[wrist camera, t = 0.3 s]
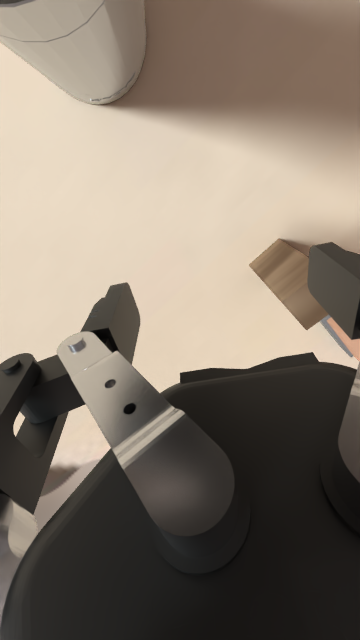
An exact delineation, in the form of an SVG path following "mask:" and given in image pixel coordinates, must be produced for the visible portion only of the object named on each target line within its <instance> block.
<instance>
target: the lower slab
mask: <svg viewBox="0 0 360 640" xmlns="http://www.w3.org/2000/svg"><path fill="white" fill-rule="evenodd" d="M329 318H331V316H330V315H327V316H326V317H324V318H323V319H322V320H320V323H321V324H322V325H323V326H324V327H325V329H326V330H327V331H328V332H329V334H330V335H331V336H332V337H333V338H334V340H335V341H336V342H337V343H338V345H339V346H340V347H341V348H342V349H343V350H344V351H345V352H346V353H347V354H348V355H349V356H350V357H352V356H353V355H352V354H351V352H350V351H349V350H348V348H347V347H346V346H345V344H344V343H343V342H342V340H341V339H340V338H339V337H338V335H337V334H336V333H335V331H334V330H333V329H332V327H331V326H330V325H329V323H328V322H327V321H326V320H328V319H329Z"/></svg>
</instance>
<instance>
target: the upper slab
mask: <svg viewBox="0 0 360 640" xmlns="http://www.w3.org/2000/svg"><path fill="white" fill-rule="evenodd" d="M326 321H327V322H328V323H329V325H330V326H331V327H332V329H333V330H334V331H335V333H336V334H337V335H338V337H339V338H340V339H341V340H342V342H343V343H344V344H345V346H346V347H347V348H348V350H349V351H350V352H351V354H352V355H353V356H354V357H355V358H357V359H358V360H359V361H360V339H355V340H351V339H350V338H349V337H348V336H347V335H346V333H345V332H344V331H343V330H342V329H341V328H340V327H339V325H338V324H337V323H336V322H335V321H334V320H333V319H332V317H331V318H329V319H328V320H326Z"/></svg>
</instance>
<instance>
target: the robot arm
mask: <svg viewBox="0 0 360 640" xmlns="http://www.w3.org/2000/svg"><path fill="white" fill-rule="evenodd" d="M0 42H1V43H2V44H3V45H5V46H6V47H7V48H9V49H10V50H11V51H12V52H14V53H15V54H16V55H18V56H19V57H20V58H22V59H23V60H24V61H25V62H27V63H28V64H29V65H31V66H32V67H33V68H35V69H36V70H37V71H39V72H40V73H41V74H42V75H44V76H45V77H46V78H48V79H49V80H50V81H51V82H53V83H54V84H55V85H57V86H58V87H59V88H61V89H62V90H63V91H65V92H66V93H68V94H69V95H71V96H72V97H74V98H75V99H78V100H80V101H83V102H85V103H90V104H106V103H110V102H113V101H115V100H117V99H119V98H120V97H122V96H123V95H124V94H125V93H127V92H128V91H129V89H130V88H131V87H132V86H133V84H134V83H135V82H136V79H137V77H138V75H139V73H140V71H141V68H142V64H143V61H144V57H145V49H146V24H145V8H144V0H0ZM307 284H308V289H309V291H310V293H311V295H312V296H313V297H314V298H315V299H316V300H317V302H318V303H319V304H320V305H321V306H322V307H323V308H324V310H325V311H326V312H327V313H328V314H329V315H330V316H331V317H332V319H333V320H334V321H335V322H336V323H337V324H338V325H339V327H340V328H341V329H342V330H343V331H344V332H345V333H346V335H347V336H348V337H349V338H350V339H351V340H355V339H360V254H356V253H353V252H349V251H345V250H344V249H342V248H341V247H339V246H338V245H336V244H334V243H333V242H330V243H325V244H319V245H314V246H312V247H311V248H310V252H309V264H308V278H307ZM139 327H140V315H139V311H138V308H137V306H136V303H135V300H134V297H133V294H132V292H131V289H130V286H129V284H128V283H122V284H117V285H112V286H110V288H109V290H108V292H107V294H106V296H105V298H101V299H100V300H99V301H98V302H97V303H96V304H95V305H94V307H93V309H92V311H91V313H90V315H89V316H88V318H87V320H86V322H85V324H84V326H83V328H82V330H81V332H80V333H77V334H74V335H72V336H70V337H68V338H67V339H65V340H64V341H63V342H62V343H61V344H60V345H59V346H58V348H57V355H55V356H52V357H50V358H47V359H44V360H42V361H39V362H37V361H36V360H35V358H34V357H33V355H32V354H29V353H23V354H19V355H16V356H13V357H11V358H9V359H7V360H6V361H4V362H3V363H1V364H0V640H360V362H359V366H358V369H357V370H356V369H353V368H351V367H347V366H343V365H339V364H334V363H327V362H319V361H318V360H317V358H316V357H315V355H314V353H313V352H311V353H305V354H299V355H292V356H286V357H279V358H276V359H274V360H271V361H268V362H265V363H263V364H260V365H257V366H254V367H252V368H249V369H224V368H208V369H202V370H196V371H189V372H183V373H180V383H178V384H175V385H173V386H171V387H169V388H168V389H166V390H164V391H163V392H161V393H159V392H158V391H157V390H156V389H155V388H154V387H153V386H152V385H151V384H150V383H149V382H148V381H147V380H146V379H145V378H144V377H143V376H142V375H141V374H140V373H139V372H138V371H137V370H136V369H135V368H134V367H133V366H132V361H133V356H134V351H135V346H136V342H137V337H138V332H139ZM85 404H86V405H87V407H88V409H89V411H90V412H91V414H92V416H93V417H94V419H95V421H96V423H97V424H98V426H99V428H100V429H101V431H102V433H103V435H104V436H105V438H106V440H107V441H108V443H109V445H110V447H111V449H110V450H109V451H108V452H107V453H106V454H105V456H104V457H103V458H102V459H101V460H100V462H99V463H98V464H97V465H96V466H95V467H94V469H93V470H92V471H91V472H90V473H89V474H88V476H87V477H86V478H85V479H84V480H83V481H82V483H81V484H80V485H79V486H78V487H77V489H76V490H75V491H74V492H73V493H72V494H71V495H70V497H69V498H68V499H67V500H66V501H65V502H64V504H63V505H62V506H61V507H60V508H59V510H58V511H57V512H56V513H55V514H54V515H53V516H52V518H51V519H50V520H49V521H48V522H47V524H46V525H45V526H44V527H43V528H42V529H41V531H40V532H39V533H38V535H37V522H36V519H35V517H34V516H33V514H34V511H35V508H36V505H37V502H38V500H39V497H40V494H41V491H42V488H43V485H44V482H45V479H46V476H47V474H48V471H49V468H50V465H51V462H52V459H53V456H54V453H55V450H56V447H57V444H58V442H59V439H60V436H61V433H62V430H63V427H64V424H65V421H66V418H67V415H68V412H69V411H71V410H73V409H75V408H78V407H80V406H82V405H85ZM19 411H20V412H21V413H22V414H23V415H24V416H25V419H24V421H23V423H22V425H21V427H20V429H19V431H18V433H17V435H16V437H15V435H14V432H13V425H14V421H15V419H16V417H17V415H18V413H19ZM36 535H37V536H36Z"/></svg>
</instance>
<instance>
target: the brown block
mask: <svg viewBox="0 0 360 640" xmlns="http://www.w3.org/2000/svg"><path fill="white" fill-rule="evenodd" d="M308 264H309V257H307V256H306V255H304V254H303V253H301V252H299V251H298V250H296V249H295V248H293V247H291V246H290V245H288V244H287V243H285V242H284V241H282V240H280V239H278V240H277V241H276V242H275V243H273V244H272V245H271V246H270V247H269V248H268V249H267V250H265V251H264V252H263V253H262V254H261V255H260V256H259V257H257V258H256V259H255V260H254V261H253V262H252V263H251V264H249V266H250V267H251V268H252V269H253V271H254V272H255V273H256V274H257V275H258V276H259V277H260V278H261V280H262V281H263V282H264V283H265V284H266V285H267V286H268V287H269V289H270V290H271V291H272V292H273V293H274V294H275V295H276V297H277V298H278V299H279V300H280V301H281V302H282V303H283V304H284V306H285V307H286V308H287V309H288V310H289V311H290V312H291V313H292V315H293V316H294V317H295V318H296V319H297V320H298V321H299V322H300V324H301V325H302V326H303V327H304V328H305V329H306V330H308V329H309V328H310V327H312V326H313V325H315V324H316V323H317V322H319V321H320V320H322V319H323V318H324V317H326V316H327V315H329V314H328V313H327V312H326V311H325V310H324V308H323V307H322V306H321V305H320V304H319V303H318V302H317V300H316V299H315V298H314V297H313V296H312V295H311V293H310V291H309V289H308V284H307V278H308Z"/></svg>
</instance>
